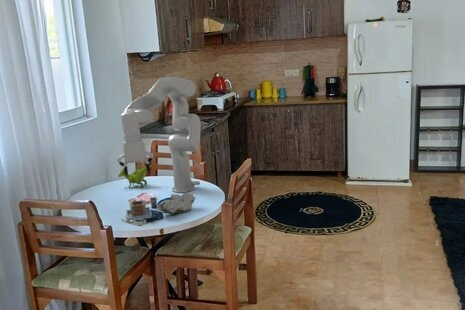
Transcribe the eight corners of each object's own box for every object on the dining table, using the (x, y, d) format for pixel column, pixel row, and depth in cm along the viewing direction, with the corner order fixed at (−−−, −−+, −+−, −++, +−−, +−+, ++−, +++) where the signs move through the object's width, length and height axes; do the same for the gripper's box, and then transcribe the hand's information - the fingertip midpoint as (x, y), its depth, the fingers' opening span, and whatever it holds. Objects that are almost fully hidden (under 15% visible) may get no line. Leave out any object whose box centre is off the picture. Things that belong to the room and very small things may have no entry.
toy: (133, 191, 275) (118, 171, 273) (161, 173, 270) (146, 152, 268) (128, 196, 267) (113, 175, 265) (157, 177, 262) (142, 156, 260)
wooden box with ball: (131, 213, 221) (129, 201, 220) (146, 211, 222) (144, 199, 221) (131, 219, 213) (130, 207, 212) (147, 217, 214) (145, 205, 213)
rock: (173, 227, 215) (169, 212, 209) (158, 217, 221) (154, 202, 215) (201, 204, 225) (198, 189, 219) (186, 195, 231) (183, 180, 225)
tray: (150, 210, 225) (150, 206, 225) (152, 218, 214) (151, 214, 214) (126, 214, 223) (125, 210, 222) (126, 222, 212) (126, 218, 211)
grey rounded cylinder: (156, 206, 231) (155, 196, 230) (157, 207, 229) (156, 198, 228) (151, 206, 231) (149, 197, 230) (151, 208, 228) (150, 198, 227)
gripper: (150, 134, 220) (155, 168, 224) (113, 139, 216) (119, 173, 221) (151, 137, 213) (156, 172, 217) (113, 142, 209) (119, 178, 214)
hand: (137, 173), depth 219 cm, fingers open, 9 cm apart
